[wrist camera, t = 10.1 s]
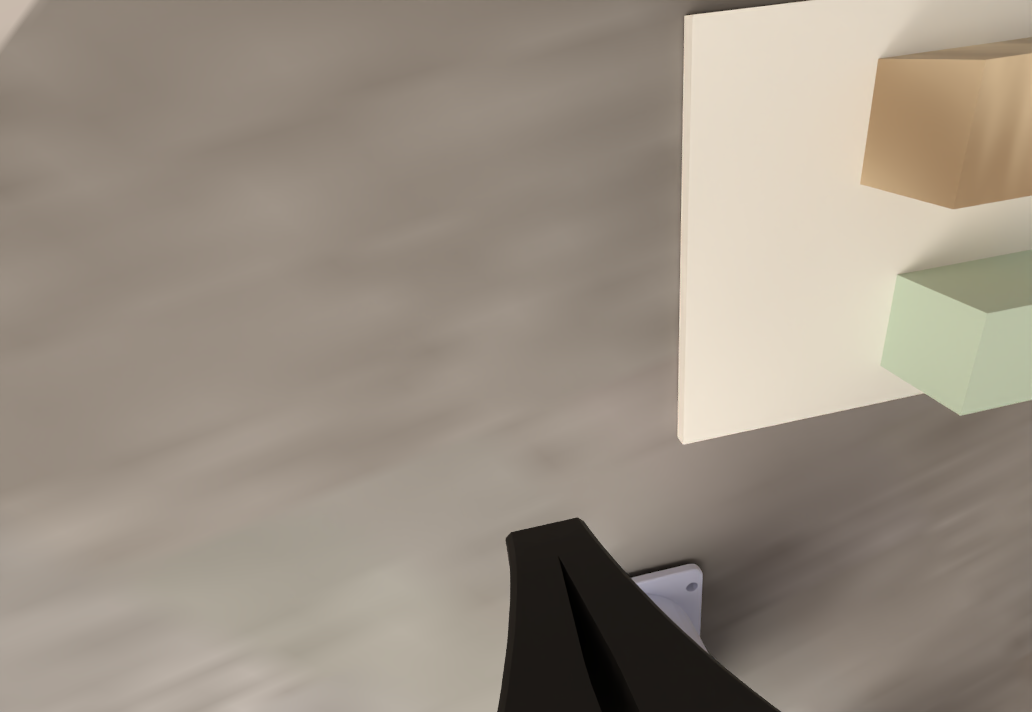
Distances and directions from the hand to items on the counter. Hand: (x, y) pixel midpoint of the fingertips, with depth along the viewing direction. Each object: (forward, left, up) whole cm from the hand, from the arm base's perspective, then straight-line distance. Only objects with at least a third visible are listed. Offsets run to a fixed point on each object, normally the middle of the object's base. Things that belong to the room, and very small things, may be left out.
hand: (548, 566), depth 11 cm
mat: (+2, -16, -10) cm, 18 cm away
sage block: (-2, -15, -8) cm, 17 cm away
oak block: (+5, -13, -8) cm, 16 cm away
